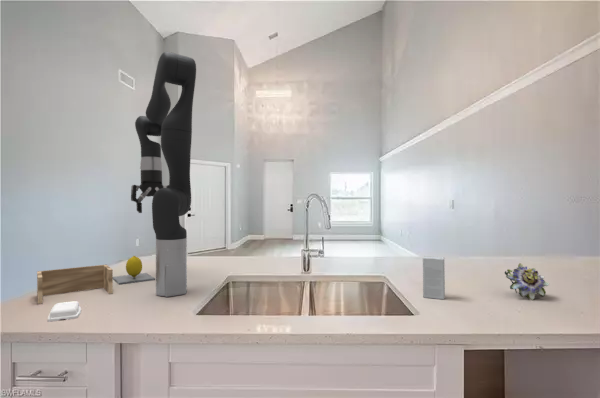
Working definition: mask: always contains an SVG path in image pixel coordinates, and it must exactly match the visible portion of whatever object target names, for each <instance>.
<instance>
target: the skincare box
mask: <svg viewBox="0 0 600 398" xmlns="http://www.w3.org/2000/svg"><path fill="white" fill-rule="evenodd" d="M445 272H446V271H445V257H443V256H425V255H424V256H423V258H422V297H423V298H426V299H437V300H445V297H446V292H445V291H446V286H445V285H446V282H445V277H446V275H445Z"/></svg>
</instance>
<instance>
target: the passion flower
mask: <svg viewBox="0 0 600 398" xmlns="http://www.w3.org/2000/svg"><path fill="white" fill-rule="evenodd" d="M504 275H505V278H507V279H509V280H510V282H511V285H510V286H509V288H510V289H511V290H514V291H515V293H518V292H519V295H520V296H521V298H524V297H526V298H528V300H530V301H533V300H534V299H535V296H536V293H537V294H538V295H539V296H542V297H546V296H545V295H546V293H547V292H546V289H545V287H548V286H550V283H549V282H548V281H545V276H544V275H541V274H539V271H538V270H536V267H532V268H528V266H524V264H522V263H520V262H519V263H518V265H517V267H516V268H514V269H509V268H508V269H507V270H505V271H504ZM517 290H518V292H517Z"/></svg>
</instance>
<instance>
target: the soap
mask: <svg viewBox="0 0 600 398" xmlns="http://www.w3.org/2000/svg"><path fill="white" fill-rule="evenodd" d="M81 312H82V307H81V306H80V302H79V301H77V300H75V301H74V300H73V301H65V302H57V303H55V304H54V305H53V306H52V308H51V309H50V312H49V314H48V316H47V322H49V323H50V322H59V321H60V320H64V319H65V321H68V320H74V319H78V318H79V317H80V315H81ZM67 319H68V320H67Z"/></svg>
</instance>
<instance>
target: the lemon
mask: <svg viewBox="0 0 600 398" xmlns="http://www.w3.org/2000/svg"><path fill="white" fill-rule="evenodd" d="M125 264H126V265H125V270H126V273H127V275H131V276H132V277H136V276H137V275H138V274H141V272H142V270H143V263H142V260H141V259H140V257H138V256H136V255H133V256H131V257H130V258H128V259H127V261H126V263H125Z"/></svg>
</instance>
